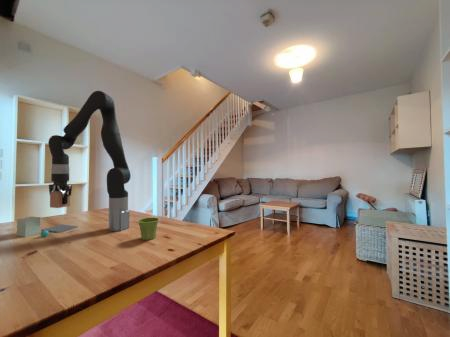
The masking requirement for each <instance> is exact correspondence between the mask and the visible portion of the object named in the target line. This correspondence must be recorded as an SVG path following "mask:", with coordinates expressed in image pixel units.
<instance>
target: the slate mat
mask: <svg viewBox="0 0 450 337" xmlns="http://www.w3.org/2000/svg"><path fill="white" fill-rule="evenodd" d="M76 228H78V226H77V225H71V224H58V225H55V226H51V227H47V228H46V227H45V228H43V229H40V232H42V231H44V230H47V231H49V233H50V232H51V233H58V234H59V233H61V232H65V231H69V230H72V229H76Z"/></svg>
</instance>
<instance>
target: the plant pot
mask: <svg viewBox="0 0 450 337" xmlns="http://www.w3.org/2000/svg"><path fill="white" fill-rule="evenodd" d="M159 221H160V218H158V217H145V218H140V219H138V220H137V223H138V226H139V230H140V237H141V239H142V241H149V240H154V239H156V237H157V235H156V234H157V230H158V223H159Z"/></svg>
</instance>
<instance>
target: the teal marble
mask: <svg viewBox="0 0 450 337" xmlns="http://www.w3.org/2000/svg"><path fill="white" fill-rule="evenodd" d="M49 234H50V232H49V231H47V230H44V231H40V236H41V237H43V238H45V237H48V236H49Z"/></svg>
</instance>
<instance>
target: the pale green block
mask: <svg viewBox="0 0 450 337" xmlns="http://www.w3.org/2000/svg"><path fill="white" fill-rule="evenodd" d="M39 234H41V216H28V217H27V216H26V217H22V218H18V219H16V236H17V237H22V238H27V237H31V236H34V235H39Z"/></svg>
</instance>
